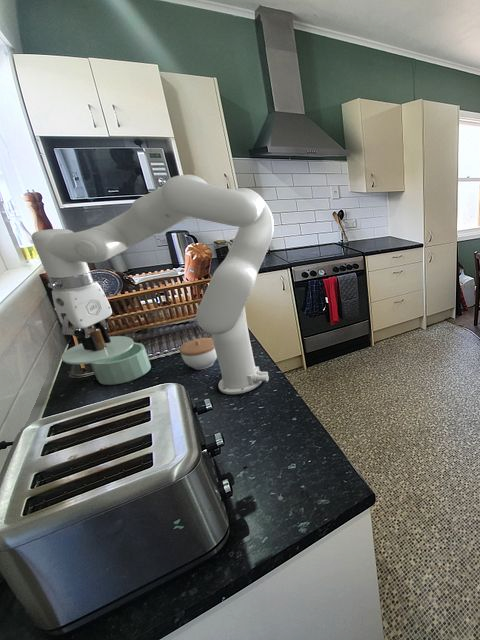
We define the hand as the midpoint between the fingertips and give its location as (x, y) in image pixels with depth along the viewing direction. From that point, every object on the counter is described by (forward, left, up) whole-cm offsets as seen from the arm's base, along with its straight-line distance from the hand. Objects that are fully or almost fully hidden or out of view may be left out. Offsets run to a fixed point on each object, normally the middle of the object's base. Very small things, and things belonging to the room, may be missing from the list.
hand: (98, 345), depth 93 cm
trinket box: (-12, -20, -18) cm, 30 cm away
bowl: (+10, -14, -18) cm, 25 cm away
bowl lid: (0, 0, -2) cm, 2 cm away
